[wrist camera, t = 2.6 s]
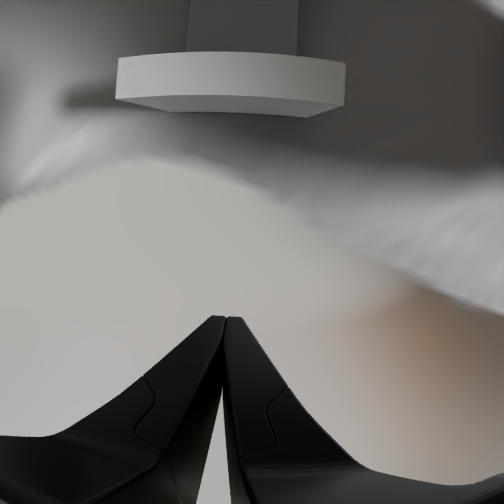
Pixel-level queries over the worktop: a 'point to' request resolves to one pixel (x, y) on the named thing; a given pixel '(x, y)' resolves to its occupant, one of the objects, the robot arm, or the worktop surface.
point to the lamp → (235, 65)
